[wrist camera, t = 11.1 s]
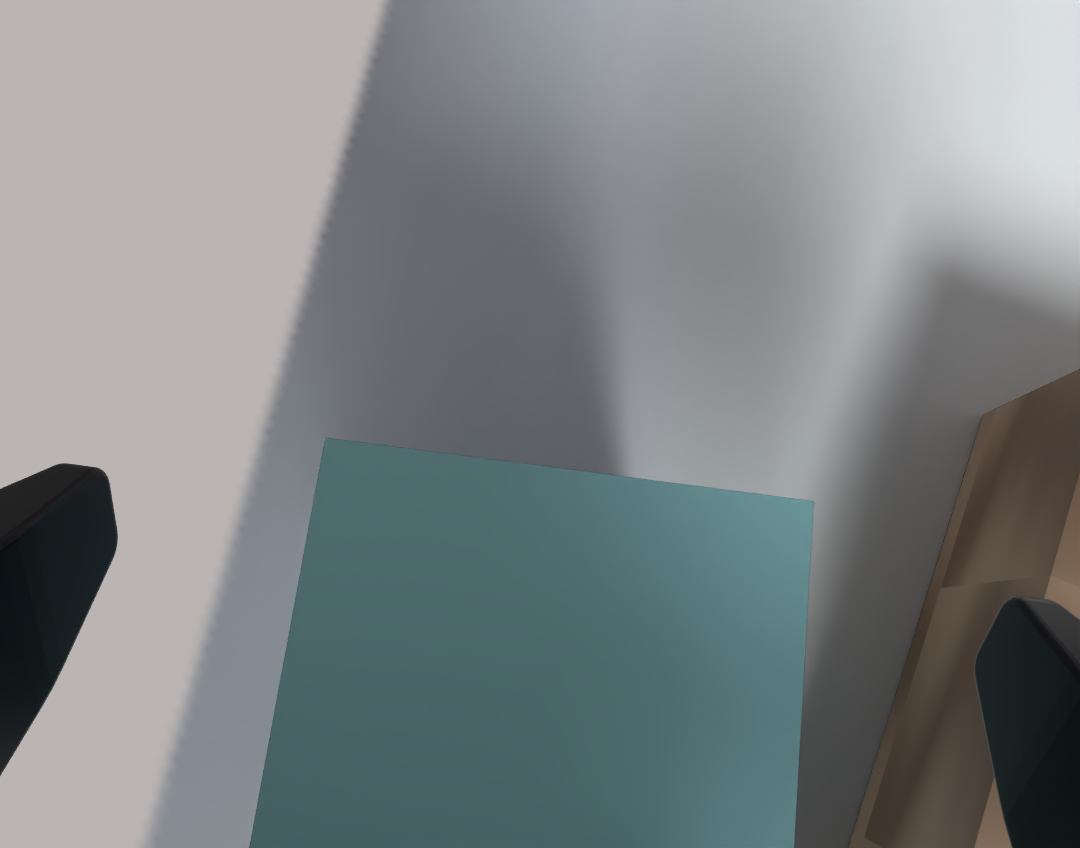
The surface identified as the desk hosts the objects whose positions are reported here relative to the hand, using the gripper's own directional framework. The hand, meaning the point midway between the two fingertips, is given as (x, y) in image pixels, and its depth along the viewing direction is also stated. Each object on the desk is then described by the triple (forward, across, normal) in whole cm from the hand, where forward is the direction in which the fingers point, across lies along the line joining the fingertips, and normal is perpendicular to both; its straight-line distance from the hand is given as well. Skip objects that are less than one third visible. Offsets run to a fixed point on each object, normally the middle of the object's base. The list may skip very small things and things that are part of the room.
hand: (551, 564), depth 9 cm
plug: (+5, 0, +7) cm, 8 cm away
